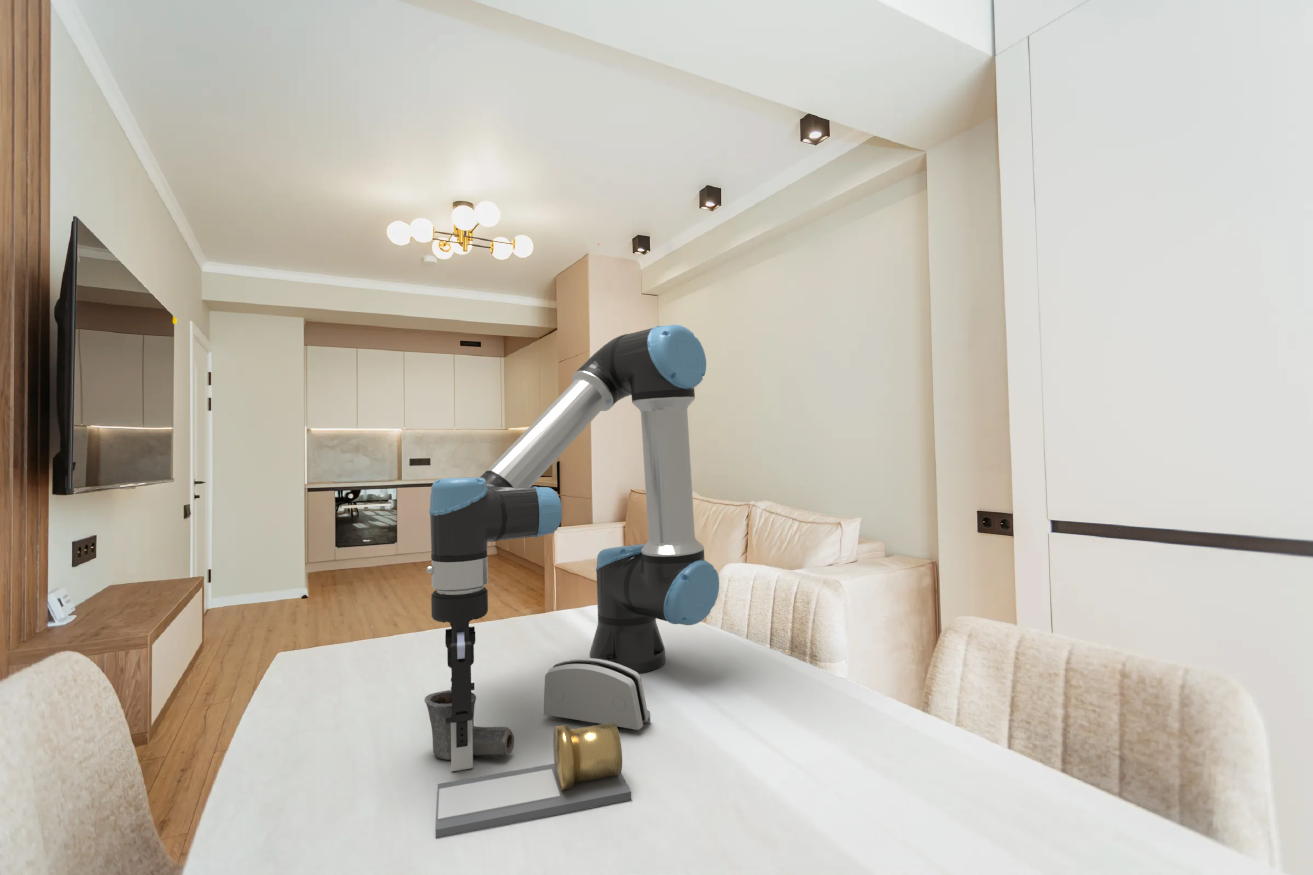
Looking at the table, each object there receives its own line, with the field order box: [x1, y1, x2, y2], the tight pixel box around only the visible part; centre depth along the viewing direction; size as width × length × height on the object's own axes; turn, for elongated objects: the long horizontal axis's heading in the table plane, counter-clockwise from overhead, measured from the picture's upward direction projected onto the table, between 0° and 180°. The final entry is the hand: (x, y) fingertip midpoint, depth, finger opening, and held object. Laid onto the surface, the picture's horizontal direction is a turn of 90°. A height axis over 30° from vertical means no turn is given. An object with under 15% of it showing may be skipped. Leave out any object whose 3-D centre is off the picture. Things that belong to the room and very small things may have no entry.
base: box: [435, 763, 632, 839], centre depth 76 cm, size 22×10×1 cm, turn 108°
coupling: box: [552, 723, 623, 791], centre depth 78 cm, size 7×7×7 cm
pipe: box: [424, 689, 515, 761], centre depth 87 cm, size 6×13×8 cm, turn 78°
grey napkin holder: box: [543, 657, 652, 731], centre depth 96 cm, size 17×5×10 cm, turn 68°
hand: (461, 752), depth 87 cm, fingers open, 8 cm apart
